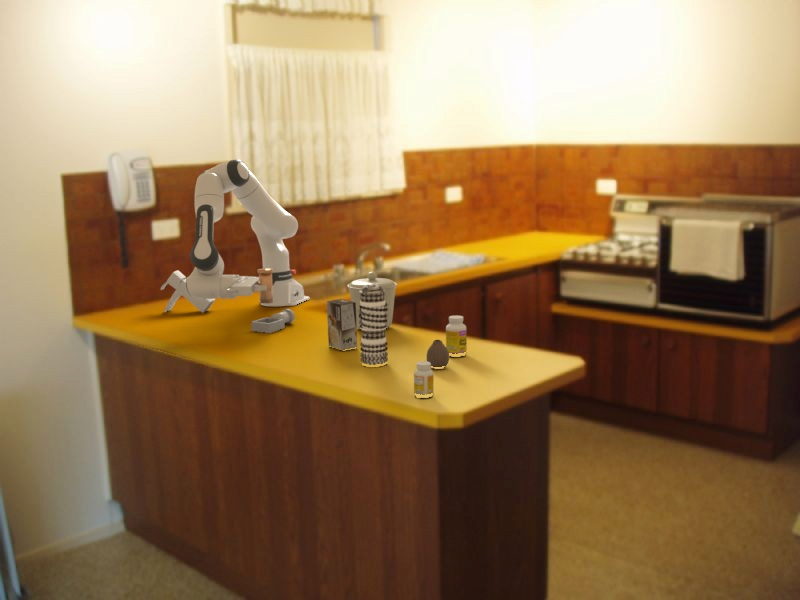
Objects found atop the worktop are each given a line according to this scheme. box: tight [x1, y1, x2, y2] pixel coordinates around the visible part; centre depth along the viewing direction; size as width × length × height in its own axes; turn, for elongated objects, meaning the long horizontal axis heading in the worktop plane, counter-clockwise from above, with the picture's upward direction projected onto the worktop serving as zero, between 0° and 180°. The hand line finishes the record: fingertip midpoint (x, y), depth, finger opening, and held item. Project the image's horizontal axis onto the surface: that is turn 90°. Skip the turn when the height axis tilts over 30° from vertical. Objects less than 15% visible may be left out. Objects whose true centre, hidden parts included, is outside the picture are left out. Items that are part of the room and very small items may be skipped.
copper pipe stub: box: [256, 267, 273, 304], centre depth 343 cm, size 6×6×12 cm
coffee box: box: [326, 298, 358, 350], centre depth 315 cm, size 9×6×16 cm
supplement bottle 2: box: [445, 315, 468, 354], centre depth 302 cm, size 7×7×13 cm
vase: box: [426, 339, 450, 367], centre depth 288 cm, size 7×7×9 cm
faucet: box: [160, 269, 216, 313], centre depth 383 cm, size 6×16×20 cm
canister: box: [347, 271, 398, 330], centre depth 343 cm, size 18×18×21 cm
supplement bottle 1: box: [413, 360, 434, 395], centre depth 258 cm, size 5×5×10 cm
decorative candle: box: [358, 285, 389, 365], centre depth 292 cm, size 9×9×25 cm
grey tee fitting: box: [250, 308, 296, 334], centre depth 349 cm, size 17×9×6 cm, turn 149°
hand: (268, 286), depth 343 cm, fingers closed on copper pipe stub, 5 cm apart
